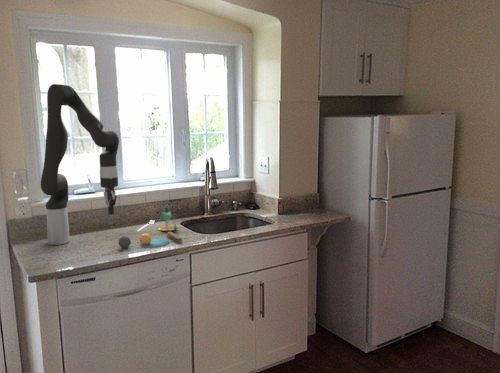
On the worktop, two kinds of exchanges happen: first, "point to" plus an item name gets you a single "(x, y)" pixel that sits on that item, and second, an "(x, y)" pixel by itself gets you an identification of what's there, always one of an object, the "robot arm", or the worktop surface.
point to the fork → (146, 225)
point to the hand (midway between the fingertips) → (111, 214)
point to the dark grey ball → (124, 242)
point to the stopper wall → (174, 237)
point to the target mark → (156, 243)
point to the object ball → (145, 239)
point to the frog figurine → (167, 217)
